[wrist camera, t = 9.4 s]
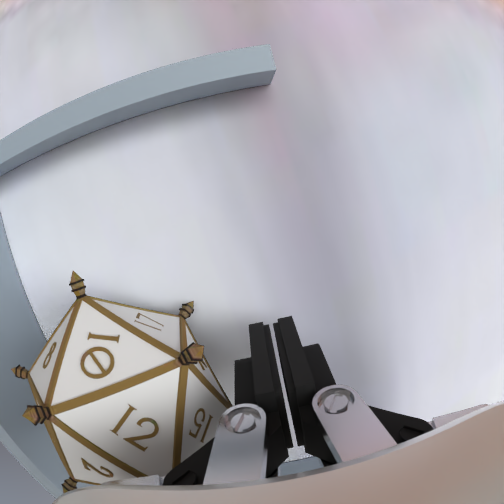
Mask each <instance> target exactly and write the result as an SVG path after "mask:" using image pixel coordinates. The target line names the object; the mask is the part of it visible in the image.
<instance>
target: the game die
mask: <svg viewBox="0 0 504 504" xmlns="http://www.w3.org/2000/svg"><path fill="white" fill-rule="evenodd" d="M83 281H84V279H82V278H80V277H79V276H78V275H77V274H76V273H75V272H74V271H73V272H72V277H71V282H70V284H69V286H70V285H71V287H72V290H71V291H72V292H74V294H75V295H76V297H77V300H76V301H75V302H74V304H73V305H72V306H71V308H70V309H69V311H68V312H67V313H66V315H65V316H64V318H63V319H62V321H61V322H60V324H59V325H58V327H57V328H56V329H55V331H54V332H53V334H52V335H51V337H50V338H49V340H48V341H47V343H46V345H45V346H44V348H43V349H42V351H41V352H40V354H39V355H38V357H37V359H36V360H35V362H34V364H33V365H32V367H31V368H30V370H29V371H28V370H27V369H25V367H21V366H20V365H18V366H17V367H14V368H12V369H11V370H12V371H13V373H14V374H15V377H17V378H21V379H28V381H29V384H30V387H31V390H32V393H33V396H34V399H35V402H36V404H37V405H33V406H32V405H27V409H26V411H25V412H24V414H23V415H22V416H23V417H25V418H26V419H28V420H29V421H31V422H32V423H33V424H34V425H35V426H37V424H38V423H40V424H43V423H44V424H45V427H46V429H47V431H48V434H49V436H50V438H51V440H52V443H53V445H54V447H55V449H56V451H57V453H58V455H59V457H60V459H61V461H62V463H63V465H64V467H65V469H66V471H67V472H68V474H69V479H66V480H64V483H63V484H61V485H62V487H63V493H66V492H68V491H71V490H74V489H77V487H76V485H77V482H81V483H86V484H92V485H97V486H98V485H101V484H102V483H104V482H108V481H115V480H124V479H132V478H139V477H146V476H152V475H158V474H159V476H160V477H163V476H166V475H167V474H168V473H169V472H170V471H171V470H172V469H173V468H175V467H176V466H177V465H179V464H180V463H181V462H183V461H184V460H185V459H187V458H188V457H189V456H191V455H192V454H193V453H195V452H196V451H197V450H199V449H200V448H201V447H202V446H204V445H205V444H206V443H207V442H209V441H210V440H211V439H212V438H214V437H215V434H216V430H217V426H218V422H219V419H220V417H221V415H222V414H223V413H224V412H225V411H226V410H227V409H229V408H230V407H233V406H232V404H231V402H230V401H229V399H228V397H227V396H226V394H225V392H224V391H223V389H222V387H221V385H220V384H219V382H218V380H217V378H216V377H215V375H214V373H213V371H212V369H211V368H210V366H209V364H208V362H207V360H206V358H205V357H204V355H203V349H204V346H202V345H198V344H197V342H196V340H195V338H194V336H193V334H192V332H191V330H190V328H189V326H188V324H187V322H186V320H185V319H186V318H188V317H190V315H191V313H193V311H194V309H193V301H192V302H189V303H187V304H182V308H180V309H179V310H180V313H179V315H173V314H168V313H163V312H158V311H153V310H148V309H143V308H138V307H134V306H129V305H125V304H120V303H116V302H112V301H107V300H103V299H99V298H95V297H91V296H87V295H86V294H85V287H86V286H84V283H83Z"/></svg>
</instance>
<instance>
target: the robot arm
mask: <svg viewBox="0 0 504 504" xmlns="http://www.w3.org/2000/svg"><path fill="white" fill-rule="evenodd" d="M273 326H274V332H275V337H276V342H277V347H278V352H279V357H280V363H281V368H282V373H283V378H284V383H285V388H286V392H287V397H288V402H289V406H290V411H291V416H292V420H293V425H294V430H295V434H296V439H297V444H298V446H302V445H304V447H305V452H306V453H308V454H311V455H313V456H315V457H318V461H319V464H320V466H321V468H318V469H314V470H310V471H305V472H300V473H295V474H290V475H284V476H280V475H281V469H280V465H281V464H282V463H283V462H284V461H285V460H286V459H287V457H289V455H288V449H287V448H292V447H293V443H292V438H291V433H290V428H289V423H288V418H287V413H286V408H285V403H284V398H283V393H282V388H281V383H280V378H279V373H278V368H277V363H276V358H275V353H274V348H273V343H272V338H271V333H270V328H269V325H264V326H263V322H260V323H255V324H250V325H249V334H250V345H251V358H246V359H240V360H235V406H233V407H230V408H229V409H227V410H226V411H225V412H224V413H223V414H222V415H221V417H220V419H219V422H218V426H217V430H216V434H215V437H214V438H212V439H211V440H210V441H209V442H207V443H206V444H205V445H204V446H202V447H201V448H200V449H199V450H197V451H196V452H195V453H193V454H192V455H191V456H189V457H188V458H187V459H185V460H184V461H183V462H181V463H180V464H179V465H177V466H176V467H175V468H173V469H172V470H171V471H170V472H169V473H168V474H167V475H166V476H163V477H160V476H159V474H158V475H152V476H146V477H139V478H132V479H124V480H115V481H108V482H104V483H102V484H101V485H98V486H88V487H83V488H78V489H74V490H71V491H68V492H66V493H63V494H62V495H60V496H59V497H58V498H57V499H56V500H55V501H54V502H53V503H52V504H504V401H500V402H497V403H494V404H491V405H488V404H484V405H479V406H475V407H472V408H469V409H465V410H462V411H458V412H454V413H451V414H447V415H443V416H439V417H435V418H433V420H432V421H430V422H426V421H424V420H422V419H419V418H414V417H410V416H406V415H402V414H398V413H394V412H390V411H386V410H382V409H379V408H375V407H371V406H368V405H367V404H366V403H365V401H364V400H363V399H362V397H361V396H360V395H359V393H358V392H357V391H356V390H355V389H354V388H352V387H349V386H347V385H336V383H335V380H334V378H333V376H332V373H331V371H330V369H329V366H328V364H327V362H326V359H325V357H324V355H323V352H322V350H321V348H320V345H319V344H314V345H309V346H305V347H302V344H301V342H300V339H299V336H298V333H297V330H296V327H295V324H294V321H293V319H292V316H289V317H284V318H280V319H278V323H274V324H273Z"/></svg>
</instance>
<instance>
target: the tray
mask: <svg viewBox="0 0 504 504" xmlns="http://www.w3.org/2000/svg"><path fill="white" fill-rule="evenodd" d="M275 71H276V67H275V63H274V59H273V55H272V51H271V47H270V44H266V45H259V46H253V47H246V48H240V49H235V50H230V51H224V52H219V53H215V54H210V55H206V56H201V57H197V58H193V59H189V60H185V61H181V62H178V63H174V64H170V65H167V66H163V67H160V68H157V69H154V70H150V71H147V72H144V73H141V74H138V75H135V76H132V77H130V78H127V79H124V80H121V81H119V82H116V83H113V84H111V85H108V86H106V87H103V88H101V89H98V90H96V91H93V92H91V93H89V94H86V95H84V96H82V97H80V98H77V99H75V100H73V101H71V102H69V103H67V104H65V105H62V106H60V107H58V108H56V109H54V110H52V111H50V112H48V113H47V114H45V115H43V116H41V117H39V118H37V119H35V120H33V121H32V122H30V123H28V124H26V125H25V126H23V127H21V128H19V129H18V130H16V131H14V132H13V133H11V134H9V135H8V136H6V137H5V138H3V139H1V140H0V176H2V175H3V174H5V173H7V172H9V171H11V170H12V169H14V168H16V167H18V166H20V165H22V164H24V163H26V162H28V161H30V160H32V159H34V158H36V157H38V156H40V155H42V154H44V153H46V152H48V151H50V150H52V149H54V148H56V147H59V146H61V145H63V144H65V143H68V142H70V141H72V140H75V139H77V138H79V137H82V136H84V135H87V134H89V133H92V132H94V131H97V130H99V129H102V128H105V127H107V126H110V125H113V124H115V123H118V122H121V121H124V120H127V119H130V118H133V117H136V116H139V115H142V114H145V113H148V112H151V111H155V110H158V109H161V108H165V107H168V106H172V105H175V104H179V103H183V102H187V101H190V100H194V99H198V98H203V97H207V96H211V95H216V94H220V93H225V92H230V91H235V90H240V89H245V88H251V87H256V86H262V85H269V84H271V81H272V79H273V76H274V74H275ZM46 343H47V341H46V339H45V337H44V335H43V333H42V331H41V329H40V326H39V324H38V322H37V320H36V318H35V315H34V313H33V311H32V308H31V306H30V303H29V301H28V298H27V296H26V293H25V291H24V288H23V286H22V283H21V280H20V277H19V275H18V272H17V269H16V266H15V263H14V260H13V257H12V253H11V250H10V247H9V244H8V240H7V237H6V233H5V229H4V226H3V222H2V218H1V213H0V441H1V443H2V444H3V445H4V446H5V447H6V449H7V450H8V451H9V452H10V453H11V454H12V455H13V457H14V458H15V459H16V460H17V461H18V462H19V463H20V464H21V465H22V467H23V468H24V469H25V470H26V471H27V472H28V473H29V474H30V475H31V476H32V477H33V478H34V479H35V480H36V481H37V482H38V483H39V484H40V485H41V486H43V488H45V489H46V490H47V491H48V492H49V493H50V494H51V495H52V496H53V497H54V498H56V499H57V498H58V497H59V496H60V495H62V494H63V487H62V485H61V484H63V483H64V480H66V479H69V474H68V472H67V471H66V469H65V467H64V465H63V463H62V461H61V459H60V457H59V455H58V453H57V451H56V449H55V447H54V445H53V443H52V440H51V438H50V436H49V434H48V431H47V429H46V427H45V424H44V423H43V424H40V423H38V424H37V426H35V425H34V424H33V423H32V422H31V421H29V420H28V419H26V418H25V417H23V416H22V415H23V414H24V412H25V411H26V409H27V405H32V406H33V405H37V404H36V402H35V399H34V396H33V393H32V390H31V387H30V384H29V381H28V379H21V378H17V377H15V374H14V373H13V371H12V370H11V369H12V368H14V367H17V366H18V365H20V366H21V367H25V369H27V370H28V371H29V370H30V368H31V367H32V365H33V364H34V362H35V360H36V359H37V357H38V355H39V354H40V352H41V351H42V349H43V348H44V346H45V345H46ZM318 468H321V466H320V464H319V461H318V457H311V458H307V459H302V460H297V461H292V462H287V463H282V464H281V465H280V469H281V475H280V476H284V475H290V474H295V473H300V472H305V471H310V470H314V469H318ZM88 486H97V485H92V484H86V483H81V482H77V485H76V487H77V489H78V488H83V487H88Z"/></svg>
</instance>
